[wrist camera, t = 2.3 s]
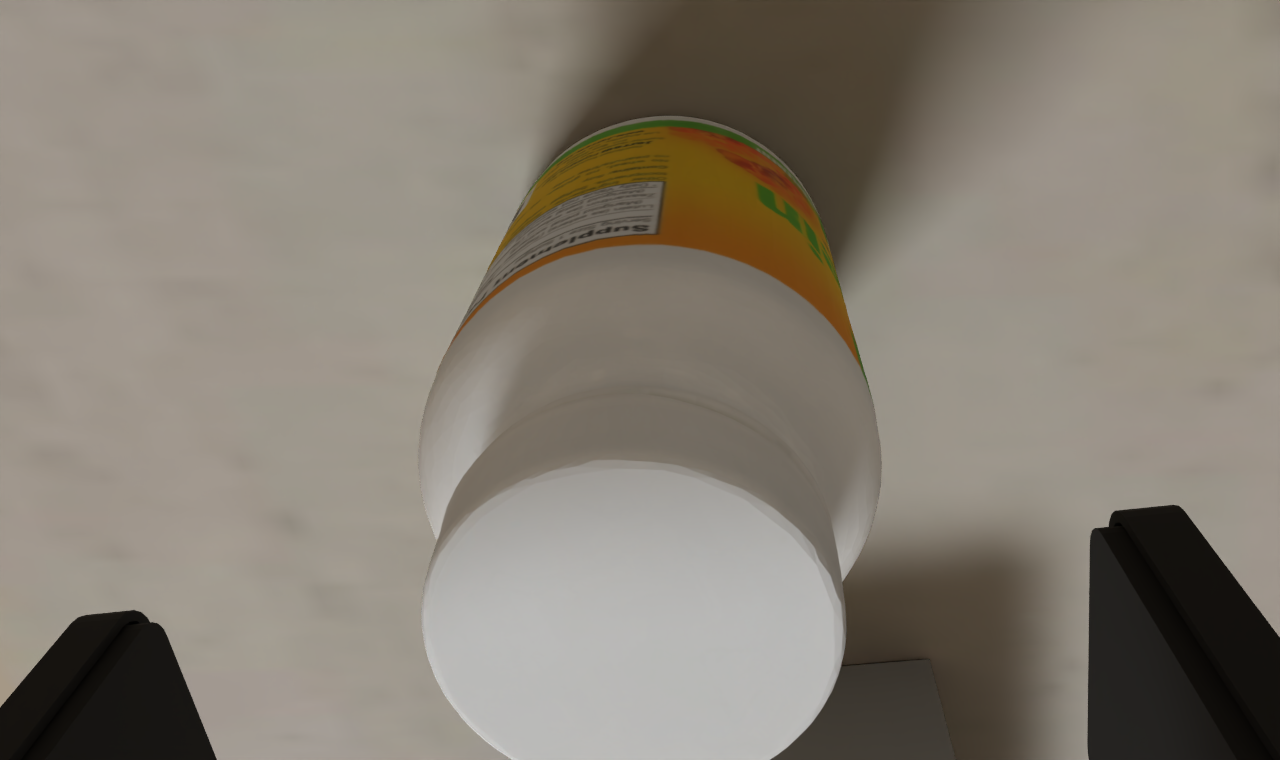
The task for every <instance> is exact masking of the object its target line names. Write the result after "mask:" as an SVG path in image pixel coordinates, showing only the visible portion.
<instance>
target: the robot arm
mask: <svg viewBox="0 0 1280 760" xmlns="http://www.w3.org/2000/svg"><path fill="white" fill-rule="evenodd" d="M1088 756H1089V760H1280V637H1279V636H1278V635H1277V633H1276V632H1275V631H1274V629H1273V628H1272V627H1271V625H1270V624H1269V623H1268V621H1267V620H1266V619H1265V617H1264V616H1263V615H1262V613H1261V612H1260V611H1259V609H1258V608H1257V607H1256V606H1255V604H1254V603H1253V602H1252V600H1251V599H1250V598H1249V596H1248V595H1247V594H1246V592H1245V591H1244V590H1243V588H1242V587H1241V586H1240V584H1239V583H1238V582H1237V580H1236V579H1235V578H1234V576H1233V575H1232V574H1231V572H1230V571H1229V570H1228V568H1227V567H1226V566H1225V564H1224V563H1223V562H1222V560H1221V559H1220V558H1219V556H1218V555H1217V554H1216V552H1215V551H1214V550H1213V548H1212V547H1211V546H1210V544H1209V543H1208V542H1207V540H1206V539H1205V538H1204V536H1203V535H1202V534H1201V532H1200V531H1199V530H1198V528H1197V527H1196V526H1195V524H1194V523H1193V522H1192V520H1191V519H1190V518H1189V516H1188V515H1187V514H1186V512H1185V511H1184V510H1183V509H1182V508H1181V507H1180V506H1177V505H1168V506H1158V507H1148V508H1139V509H1129V510H1119V511H1114V512H1113V513H1112V515H1111V518H1110V521H1109V527H1104V528H1095V529H1094V530H1093V531H1092V533H1091V538H1090V588H1089V669H1088ZM0 760H217V759H216V757H215V754H214V752H213V749H212V747H211V744H210V742H209V739H208V737H207V734H206V732H205V729H204V727H203V724H202V722H201V719H200V717H199V714H198V712H197V709H196V707H195V704H194V702H193V699H192V697H191V694H190V692H189V689H188V687H187V684H186V682H185V679H184V677H183V675H182V672H181V670H180V667H179V665H178V662H177V660H176V657H175V655H174V652H173V650H172V647H171V645H170V642H169V640H168V637H167V635H166V633H165V631H164V629H163V628H162V627H161V626H160V625H159V624H157V623H153V622H152V623H150V621H149V620H148V618H147V617H146V616H145V615H144V614H143V613H141V612H139V611H135V610H131V611H122V612H112V613H102V614H92V615H85V616H81V617H78V618H77V619H76V620H75V621H73V622H72V623H71V624H70V625H69V627H68V628H67V629H66V630H65V631H64V633H63V634H62V635H61V636H60V637H59V638H58V640H57V641H56V642H55V643H54V644H53V646H52V647H51V648H50V649H49V650H48V652H47V653H46V654H45V655H44V656H43V657H42V659H41V660H40V661H39V662H38V663H37V665H36V666H35V667H34V668H33V669H32V670H31V672H30V673H29V674H28V675H27V676H26V678H25V679H24V680H23V681H22V682H21V683H20V685H19V686H18V687H17V688H16V689H15V691H14V692H13V693H12V694H11V695H10V697H9V698H8V699H7V700H6V702H4V704H3V705H2V706H1V707H0Z"/></svg>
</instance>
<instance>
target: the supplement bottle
mask: <svg viewBox="0 0 1280 760" xmlns="http://www.w3.org/2000/svg"><path fill="white" fill-rule="evenodd" d="M881 465H882V462H881V447H880V440H879V434H878V428H877V422H876V415H875V409H874V404H873V400H872V397H871V393H870V389H869V386H868V382H867V378H866V376H865V372H864V369H863V365H862V362H861V358H860V355H859V351H858V348H857V344H856V341H855V338H854V334H853V331H852V328H851V324H850V321H849V317H848V314H847V309H846V305H845V303H844V299H843V295H842V291H841V288H840V284H839V280H838V277H837V273H836V270H835V266H834V262H833V258H832V255H831V251H830V247H829V243H828V240H827V237H826V234H825V230H824V228H823V225H822V222H821V219H820V217H819V214H818V212H817V210H816V207H815V205H814V203H813V201H812V200H811V198H810V196H809V194H808V193H807V191H806V189H805V188H804V186H803V185H802V183H801V182H800V180H799V179H798V178H797V177H796V175H795V174H794V173H793V172H792V171H791V170H790V168H789V167H788V166H787V165H786V164H785V163H784V162H783V161H782V160H781V159H780V158H778V157H777V156H776V155H775V154H774V153H773V152H771V151H770V150H769V149H768V148H766V147H765V146H764V145H762V144H760V143H759V142H757V141H756V140H754V139H752V138H751V137H749V136H747V135H745V134H744V133H742V132H740V131H737V130H735V129H732V128H730V127H728V126H725V125H722V124H719V123H716V122H712V121H709V120H704V119H699V118H693V117H685V116H653V117H646V118H639V119H634V120H629V121H625V122H622V123H618V124H615V125H612V126H609V127H606V128H604V129H601V130H599V131H597V132H595V133H593V134H591V135H589V136H587V137H585V138H583V139H581V140H580V141H578V142H577V143H575V144H574V145H572V146H571V147H569V148H568V149H567V150H565V151H564V152H563V153H562V154H560V155H559V156H558V157H557V158H556V159H555V160H554V161H553V162H552V163H551V164H550V165H549V166H548V168H547V169H546V170H545V171H544V172H543V173H542V174H541V176H540V177H539V178H538V179H537V181H536V182H535V183H534V185H533V186H532V187H531V189H530V190H529V192H528V194H527V195H526V197H525V198H524V200H523V202H522V203H521V205H520V206H519V208H518V210H517V212H516V214H515V216H514V218H513V220H512V222H511V224H510V226H509V228H508V230H507V232H506V234H505V236H504V238H503V240H502V242H501V244H500V246H499V248H498V250H497V252H496V254H495V256H494V258H493V260H492V262H491V264H490V266H489V268H488V270H487V273H486V275H485V276H484V278H483V280H482V282H481V284H480V287H479V289H478V291H477V292H476V294H475V296H474V298H473V301H472V303H471V305H470V307H469V309H468V311H467V313H466V315H465V317H464V319H463V320H462V322H461V324H460V326H459V328H458V330H457V332H456V334H455V336H454V338H453V340H452V342H451V344H450V346H449V348H448V350H447V352H446V354H445V355H444V357H443V359H442V362H441V364H440V366H439V368H438V371H437V374H436V377H435V380H434V383H433V385H432V388H431V390H430V393H429V396H428V399H427V403H426V406H425V410H424V414H423V419H422V423H421V429H420V438H419V449H418V467H419V477H420V486H421V492H422V497H423V501H424V505H425V509H426V513H427V516H428V519H429V522H430V525H431V527H432V530H433V533H434V535H435V537H436V539H437V543H436V546H435V549H434V552H433V555H432V559H431V562H430V565H429V569H428V572H427V576H426V580H425V583H424V587H423V596H422V607H421V619H422V630H423V638H424V644H425V648H426V652H427V656H428V659H429V662H430V664H431V667H432V670H433V673H434V676H435V678H436V680H437V682H438V683H439V685H440V687H441V689H442V691H443V693H444V695H445V696H446V698H447V699H448V700H449V702H450V703H451V704H452V706H453V707H454V708H455V710H456V711H457V712H458V714H459V715H460V716H461V717H462V719H463V720H464V721H465V722H466V723H467V724H468V725H469V726H470V727H471V728H472V729H473V730H474V731H475V732H476V733H477V734H478V735H479V736H481V737H482V738H483V739H484V740H485V741H486V742H487V743H489V744H490V745H491V746H493V747H494V748H495V749H497V750H498V751H500V752H501V753H503V754H504V755H506V756H507V757H509V758H510V759H512V760H770V759H772V758H773V757H775V756H776V755H778V754H779V753H780V752H782V751H783V750H784V749H786V748H787V747H788V746H789V745H790V744H791V743H792V742H794V741H795V740H796V739H797V738H798V737H799V736H800V735H801V734H802V733H803V732H804V731H805V730H806V729H807V728H808V727H809V726H810V724H811V723H812V722H813V721H814V719H815V718H816V717H817V715H818V714H819V712H820V711H821V709H822V708H823V706H824V705H825V703H826V701H827V699H828V697H829V696H830V694H831V692H832V690H833V688H834V685H835V683H836V680H837V678H838V675H839V672H840V669H841V664H842V660H843V655H844V650H845V645H846V634H847V629H846V609H845V600H844V592H843V584H842V582H843V580H844V579H845V577H846V576H847V574H848V573H849V571H850V570H851V568H852V566H853V565H854V563H855V561H856V560H857V558H858V556H859V555H860V552H861V550H862V548H863V546H864V544H865V542H866V540H867V537H868V534H869V532H870V529H871V526H872V523H873V519H874V516H875V512H876V508H877V503H878V498H879V493H880V487H881Z"/></svg>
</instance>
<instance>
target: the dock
mask: <svg viewBox="0 0 1280 760" xmlns="http://www.w3.org/2000/svg"><path fill="white" fill-rule="evenodd" d="M770 760H956V759H955V755H954V751H953V747H952V743H951V739H950V736H949V732H948V728H947V724H946V720H945V717H944V713H943V709H942V705H941V701H940V697H939V694H938V690H937V686H936V682H935V678H934V675H933V671H932V667H931V663H930V659H925V660H912V661H900V662H888V663H876V664H864V665H852V666H841V669H840V672H839V675H838V678H837V680H836V683H835V685H834V688H833V690H832V692H831V694H830V696H829V697H828V699H827V701H826V703H825V705H824V706H823V708H822V709H821V711H820V712H819V714H818V715H817V717H816V718H815V719H814V721H813V722H812V723H811V724H810V726H809V727H808V728H807V729H806V730H805V731H804V732H803V733H802V734H801V735H800V736H799V737H798V738H797V739H796V740H795V741H794V742H792V743H791V744H790V745H789V746H788V747H787V748H786V749H784V750H783V751H782V752H780V753H779V754H778V755H776V756H775V757H773V758H772V759H770Z"/></svg>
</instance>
